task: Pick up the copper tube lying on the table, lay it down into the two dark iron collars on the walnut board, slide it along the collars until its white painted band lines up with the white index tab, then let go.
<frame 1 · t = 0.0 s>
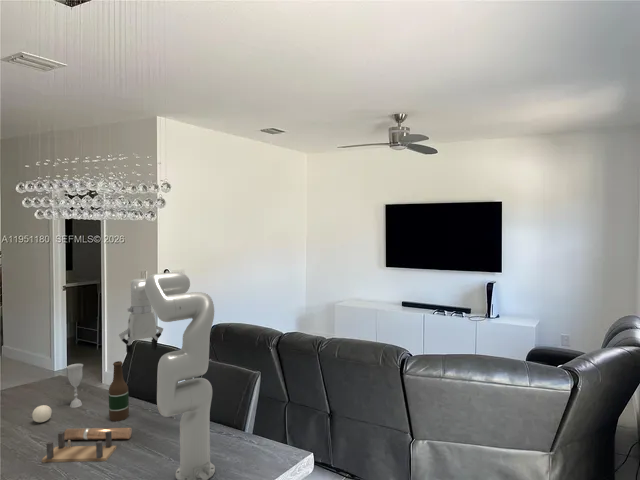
hand: (142, 351, 185), 31 cm above the table, tool pointing down, fingers open, 9 cm apart
plastic bottle: (190, 428, 186), on the table
beer bottle: (119, 418, 196), on the table
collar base: (80, 455, 165), on the table
chalice: (76, 405, 209), on the table
tube: (98, 438, 177), on the table
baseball: (42, 421, 193), on the table
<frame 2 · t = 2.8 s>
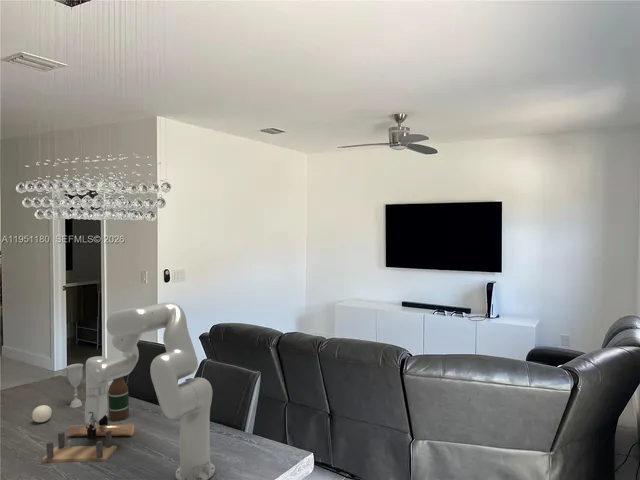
hand: (97, 433, 177), 2 cm above the table, tool pointing down, fingers open, 9 cm apart
tube: (99, 433, 178), point 2 cm above the table, tilted 82°, touching gripper
everything else where it was.
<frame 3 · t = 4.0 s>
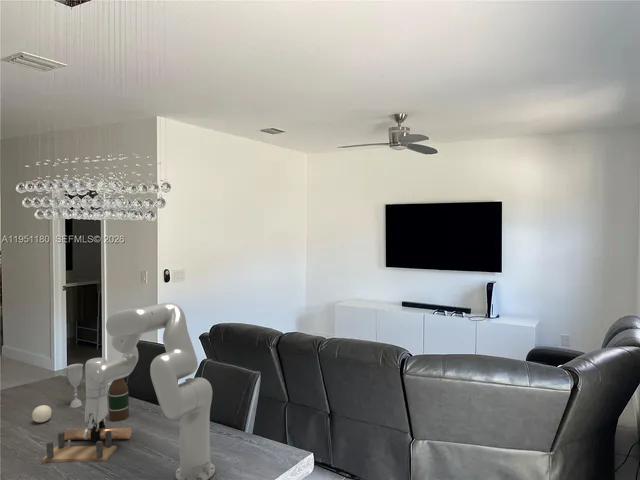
hand: (98, 437, 177), 1 cm above the table, tool pointing down, fingers closed on tube, 4 cm apart
tube: (98, 438, 177), on the table, touching gripper
everything else where it was.
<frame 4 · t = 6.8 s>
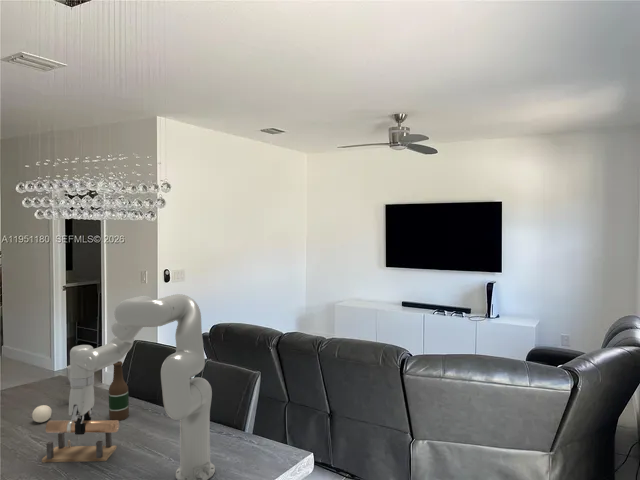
hand: (83, 430, 164), 9 cm above the table, tool pointing down, fingers closed on tube, 4 cm apart
tube: (83, 431, 164), point 8 cm above the table, touching gripper
everything else where it was.
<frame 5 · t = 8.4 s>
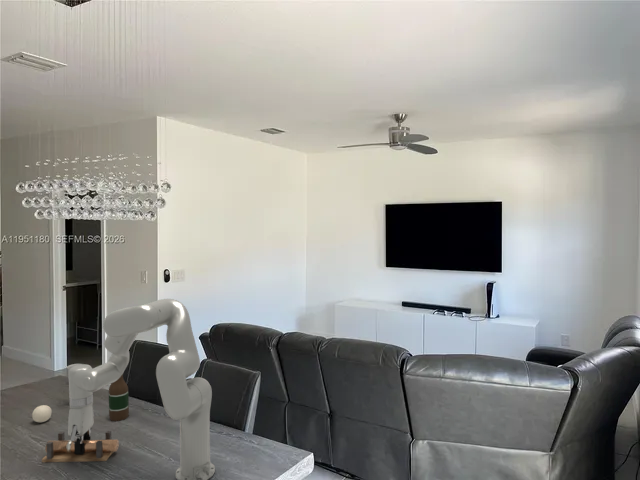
hand: (82, 450, 165), 2 cm above the table, tool pointing down, fingers closed on tube, 4 cm apart
tube: (82, 451, 165), point 1 cm above the table, touching gripper
everything else where it was.
when the fingers open (2 cm above the table, at t = 9.9 s): tube stays where it is, resting on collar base.
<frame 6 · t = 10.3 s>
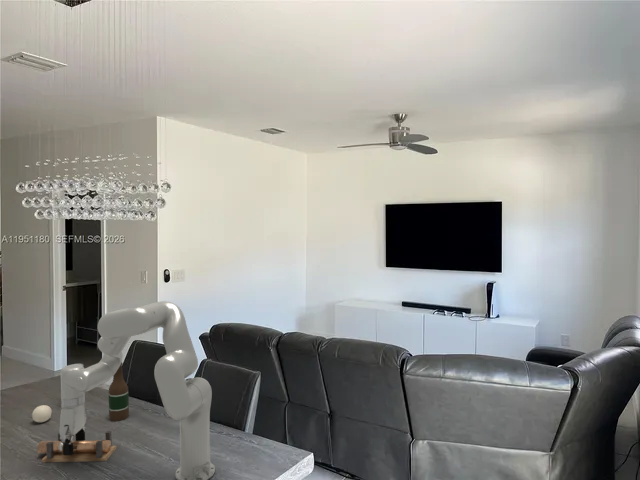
hand: (74, 448, 165), 2 cm above the table, tool pointing down, fingers open, 8 cm apart
tube: (74, 452, 165), point 1 cm above the table, touching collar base
everything else where it was.
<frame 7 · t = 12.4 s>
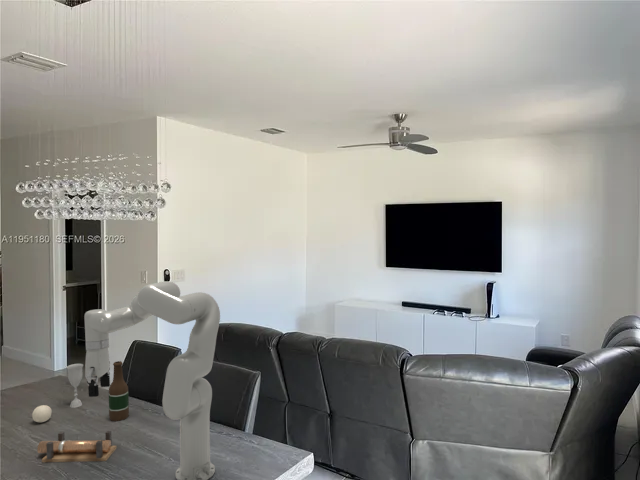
hand: (99, 391, 166), 22 cm above the table, tool pointing down, fingers open, 9 cm apart
nothing on the table moved.
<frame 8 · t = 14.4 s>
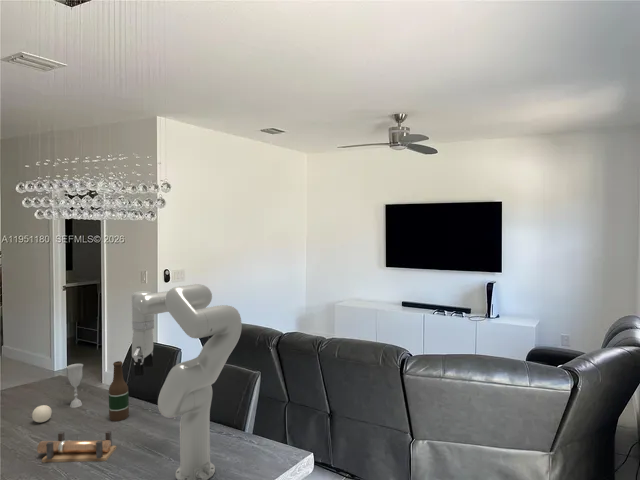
hand: (144, 370, 170), 28 cm above the table, tool pointing down, fingers open, 9 cm apart
nothing on the table moved.
at the end: tube 0.2 cm from the target spot on the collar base, point 1.0 cm above the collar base's base; tube touching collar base; the gripper is holding nothing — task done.
